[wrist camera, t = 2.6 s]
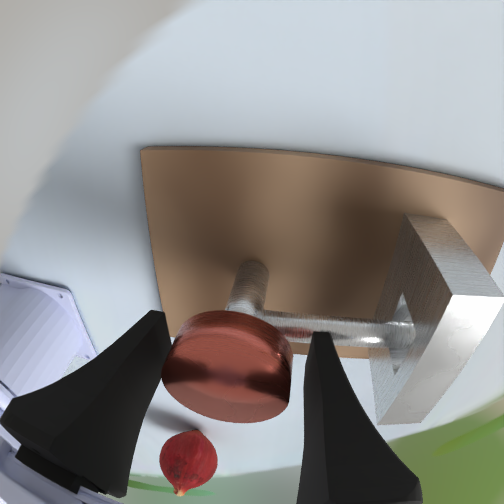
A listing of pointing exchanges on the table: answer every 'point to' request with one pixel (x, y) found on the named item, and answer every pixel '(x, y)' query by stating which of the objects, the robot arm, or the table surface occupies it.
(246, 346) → the red knob lever
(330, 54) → the table surface
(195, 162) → the board
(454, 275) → the grey rectangular block
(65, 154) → the table surface
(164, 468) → the onion
